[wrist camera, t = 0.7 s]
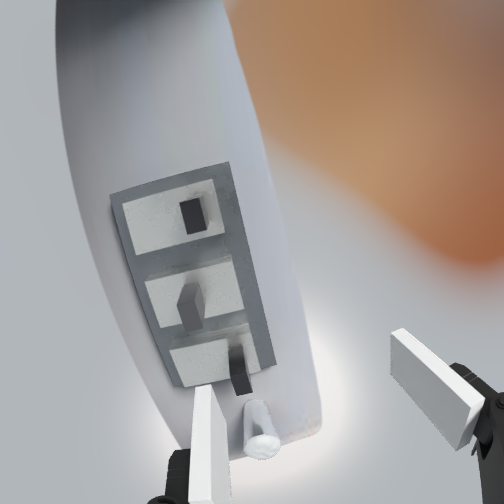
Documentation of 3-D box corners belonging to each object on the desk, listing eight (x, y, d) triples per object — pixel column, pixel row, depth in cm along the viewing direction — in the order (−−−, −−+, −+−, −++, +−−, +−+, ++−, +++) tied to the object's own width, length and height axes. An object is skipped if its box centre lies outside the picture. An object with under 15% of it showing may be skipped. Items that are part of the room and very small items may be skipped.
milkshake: (243, 389, 38) (251, 441, 28) (277, 401, 39) (291, 451, 29) (227, 410, 39) (231, 462, 29) (260, 421, 40) (270, 472, 30)
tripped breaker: (182, 286, 29) (176, 305, 25) (198, 283, 29) (194, 301, 25) (190, 310, 30) (185, 332, 25) (205, 307, 30) (203, 328, 25)
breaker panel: (115, 194, 31) (79, 198, 22) (228, 162, 32) (231, 153, 23) (176, 377, 37) (167, 427, 27) (274, 356, 37) (289, 403, 28)
